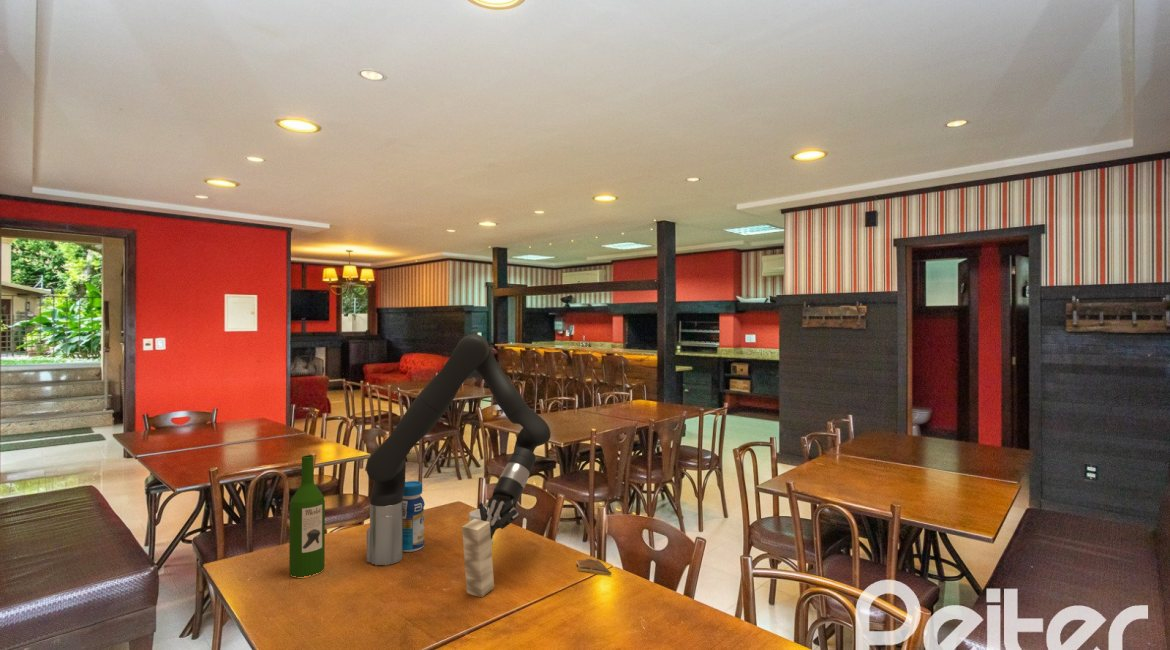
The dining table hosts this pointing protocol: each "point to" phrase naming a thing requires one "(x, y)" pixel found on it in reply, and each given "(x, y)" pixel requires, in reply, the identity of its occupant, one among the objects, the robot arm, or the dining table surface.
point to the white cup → (477, 517)
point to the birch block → (478, 557)
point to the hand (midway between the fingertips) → (484, 540)
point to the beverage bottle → (413, 517)
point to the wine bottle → (307, 525)
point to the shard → (592, 567)
